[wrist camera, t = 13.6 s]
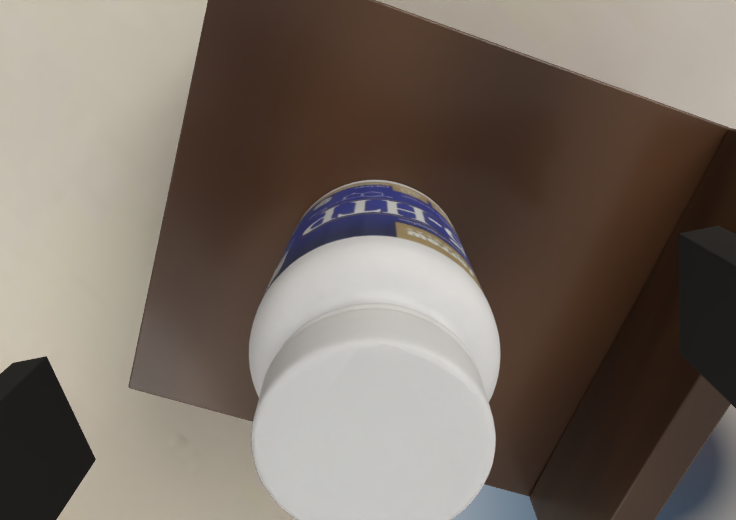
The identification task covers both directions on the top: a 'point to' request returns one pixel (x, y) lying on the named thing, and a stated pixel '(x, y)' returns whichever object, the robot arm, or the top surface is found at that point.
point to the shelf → (470, 220)
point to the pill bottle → (374, 363)
